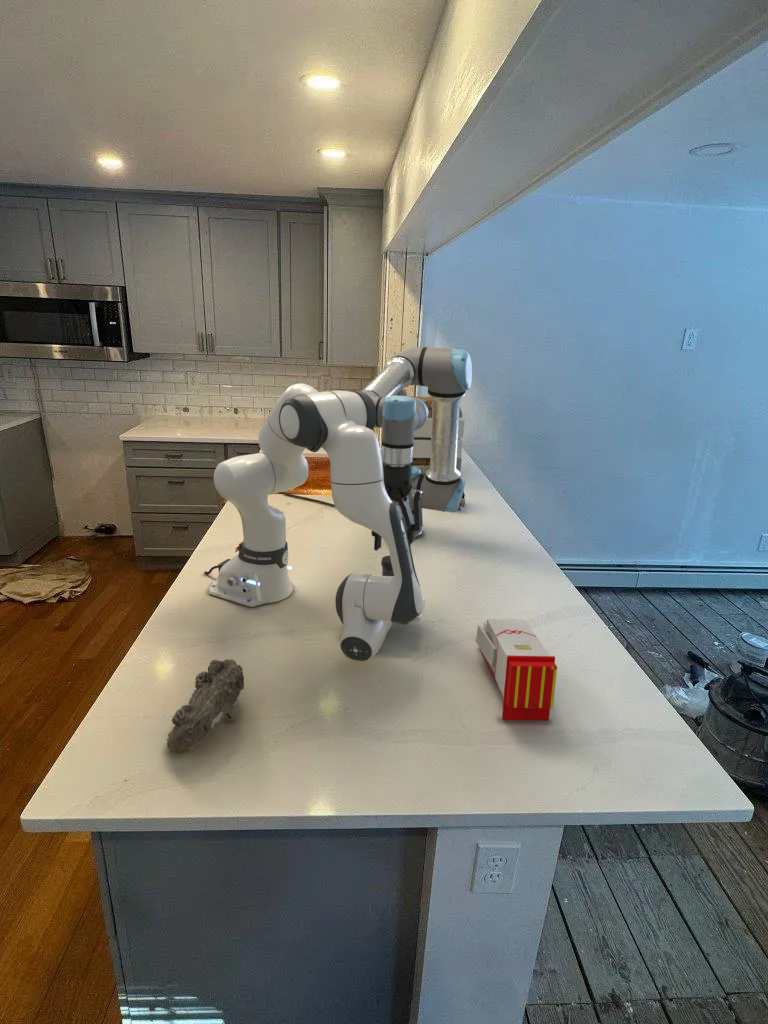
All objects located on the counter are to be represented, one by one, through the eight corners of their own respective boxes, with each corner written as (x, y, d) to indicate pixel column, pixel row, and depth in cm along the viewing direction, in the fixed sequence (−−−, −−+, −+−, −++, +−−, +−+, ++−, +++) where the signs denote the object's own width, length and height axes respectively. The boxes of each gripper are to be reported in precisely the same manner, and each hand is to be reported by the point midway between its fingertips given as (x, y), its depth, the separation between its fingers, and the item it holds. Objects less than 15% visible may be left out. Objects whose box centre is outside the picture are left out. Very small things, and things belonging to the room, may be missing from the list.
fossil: (192, 660, 117) (244, 628, 112) (224, 691, 120) (276, 661, 115) (142, 746, 98) (202, 712, 93) (182, 779, 101) (242, 748, 96)
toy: (523, 604, 135) (566, 662, 106) (518, 656, 138) (559, 727, 109) (472, 603, 135) (501, 661, 105) (468, 655, 138) (496, 726, 108)
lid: (381, 560, 146) (381, 554, 145) (401, 561, 146) (401, 555, 145) (380, 569, 141) (381, 563, 140) (401, 570, 141) (401, 564, 140)
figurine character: (465, 515, 224) (460, 499, 237) (467, 498, 221) (462, 483, 234) (448, 515, 224) (444, 499, 237) (450, 498, 220) (445, 482, 234)
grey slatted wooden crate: (382, 463, 289) (386, 382, 275) (445, 464, 293) (451, 384, 279) (390, 482, 257) (394, 392, 243) (460, 483, 261) (468, 394, 247)
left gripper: (419, 609, 130) (431, 583, 143) (336, 595, 135) (353, 571, 148) (418, 633, 133) (429, 605, 145) (335, 618, 137) (353, 593, 150)
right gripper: (441, 465, 134) (434, 553, 142) (364, 453, 141) (362, 538, 149) (431, 472, 127) (424, 565, 135) (351, 460, 135) (349, 549, 142)
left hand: (390, 588), depth 147 cm, fingers closed on jar, 4 cm apart
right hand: (391, 551), depth 142 cm, fingers open, 7 cm apart
